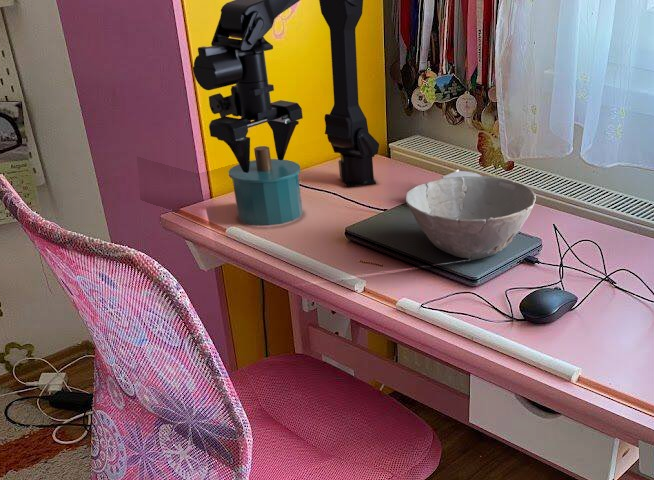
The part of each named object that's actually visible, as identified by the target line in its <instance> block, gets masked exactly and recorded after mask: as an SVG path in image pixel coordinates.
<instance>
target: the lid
mask: <svg viewBox="0 0 654 480" xmlns="http://www.w3.org/2000/svg"><path fill="white" fill-rule="evenodd" d="M253 151H254V158H255V159H254V160H250V167H249V172H248V173H245V172H243V170H242V168H241V166H240V165H239V163H238V164H236V165H233V166H232V167H231V168H229V170H228V176H229V178H230V179H231V180H232V179H234V180H236V181H240V182H246V183H268V182H276V181H281V180H285V179H288V178H291V177H293V176H295V175H297V174H298V175H299V174H300V172H301V166H300V164H299V163H297V162H295V161H292V160H287V159H283V160H278V158H271V150H270V147H269V146H265V145H261V146H260V145H259V146H256V147H254V148H253Z"/></svg>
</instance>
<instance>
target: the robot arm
mask: <svg viewBox="0 0 654 480" xmlns="http://www.w3.org/2000/svg"><path fill="white" fill-rule="evenodd" d="M300 1H301V0H231V1H228V2H225V4H223V6H221V9H220V16H219V20H218V23H217V26H216V29H215V31H214V33H213V37H212V40H211V43H210V46H199V47H198V48H197V53H198V55H197V56H196V57H195V58H194V62H193V67H192V72H193V75H194V78H195V80H196V82H197V84H198V85H199V86H200V87H201V88H202V89H203V90H205V91H212V90H217V89H221V88H224V87H228V86H229V87H231V88H230V94H229V95H227V96H223V94H222V93H221V92H218V93H215V94H212V95H210V96H208V104H209V108H210V111H211V114H213V115H218V114H219V116H220V117H219V118H215V119H212V120H211V121H210V123H209V124H208V129H209V134H210V137H211V138H215V139H217V141H220V142H221V141H222V142H224V143H225V144H226V145H227V146H228V148H229V149H230V150H231V151H232V153H233V156H234V157H235V159H236V160H237V161H236V162H238V164H239V165H240V166H241V168H242V170H243V172H245V173H248V172H249V167H250V161H251V137H249V136H247V135H248V133H249V128H253V127H256V126H259V125H262V124H264V123H265V124H266V123H267V124H268V126H269V127H270V129H271V131H272V136H273V142H274V148H275V153H276V157H277V158H276V159H278V160H285V159H284V158H285V156H286V153H287V150H288V147H289V144H290V142H291V139H292V136H293V133H294V132H295V129H296V127H297V126H298V125H299V122H300V121H299V120H302V119H304V116H303V109H302V107H301V105H300V104H299V103H298V102H296V101H295V102H294V101H287V100H283V99H280V100H276V101H272V102H271V100H272V99H271V95H270V92H274V91H275V87H274V84H271V83H269V78H268V70H267V64H266V56H265V52H267V51H272V50H273V49H274V46H273V44H271V42H269V41H267V40H266V38H265V36H266V34H267V33H268V32H269V31H270V30H271V29H272V28H273V26H274V23H275V20H276V19H277V17H279V16H280V15H281V14H282V13H285V12H286V11H287V10H288V9H291V7H293V6H294V5H296V4H297V3H298V2H300ZM318 2H319V8H320V13H321V15H322V17H323V18H324V20H325V23H326V24H327V26H328V29H329V38H330V52H331V54H330V55H331V57H330V58H331V71H332V72H331V73H332V88H333V89H332V90H333V91H332V92H333V106H332V108H331V110H330V112H329V113H325V114H324V118H323V119H324V124H325V130H324V134H325V135H327V141H328V143H330V146H331V147H332V150H333V153H335V154H340V155H339V156H340V159H339V160H338V162H337V163H338V171H339V180H340V181H341V183H343V185H344V186H345V187H346V188H355V187H364V186H372V185H376V184H377V180H376V179H375V176H374V163H373V158H374V157H375V156H377V155H378V154H379V148H380V143H379V142H378V141H377V140H376V138H375V137H374V136H373V135H372V134H371V133H370V132H369V126H368V125H369V124H368V121H367V117H366V116H365V113H364V112H363V110H362V108H361V105H360V104H359V81H358V62H357V61H358V60H357V59H358V58H357V39H356V28H357V26H358V24H359V22H360V20H361V18H362V15H363V7H364V0H318ZM230 115H232V116H233V117H231V116H230ZM237 117H240V118H237Z"/></svg>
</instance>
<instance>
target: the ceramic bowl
mask: <svg viewBox="0 0 654 480" xmlns="http://www.w3.org/2000/svg"><path fill="white" fill-rule="evenodd" d="M536 201H537V195H536V193H535V192H534V190H533V189H531V188H530V187H528V186H526V185H524V184H522V183H519V182H517V181H513V180H511V179H505V178H502V177H494V176H493V177H492V176H485V175H481V176H480V177H478V176H463V177H450V178H444V179H442V178H440V179H437V180H431V181H428V182H426V183H421V184H419V185H416V186H414V187H412V188H410V189H409V190H408V191H407V192H406V196H405V203H406V205H407V207H408V208H409V210H410V212H411V213H412V215H413V217H414V220H415V222H416V223H417V225H418V226H419V228H420V229H421V231H422V232H423V233H424V234H425V235H426V237H427V238H428V240H429V241H430V242H431V243H432V244H433V245H434V246H435V247H436V248H437V249H439V250H440V251H442V252H444V253H446V254H449V255H452V256H454V257H457V258H460V259H461V258H462V259H468V260H481V259H484V258H488V257H492V256H493V255H495V254H497V253H499V252H502V250H503V249H505V248H507V246H508V245H509V244H511V243H512V242H513V238H514V237H515V236H516V235H517V234H518V233H519V231H520V230H521V228H523V225H524V224H525V222H526V221H527V219H528V217H529V216H530V214H531V212H532V210H533V209H534V206H535V203H536Z"/></svg>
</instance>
